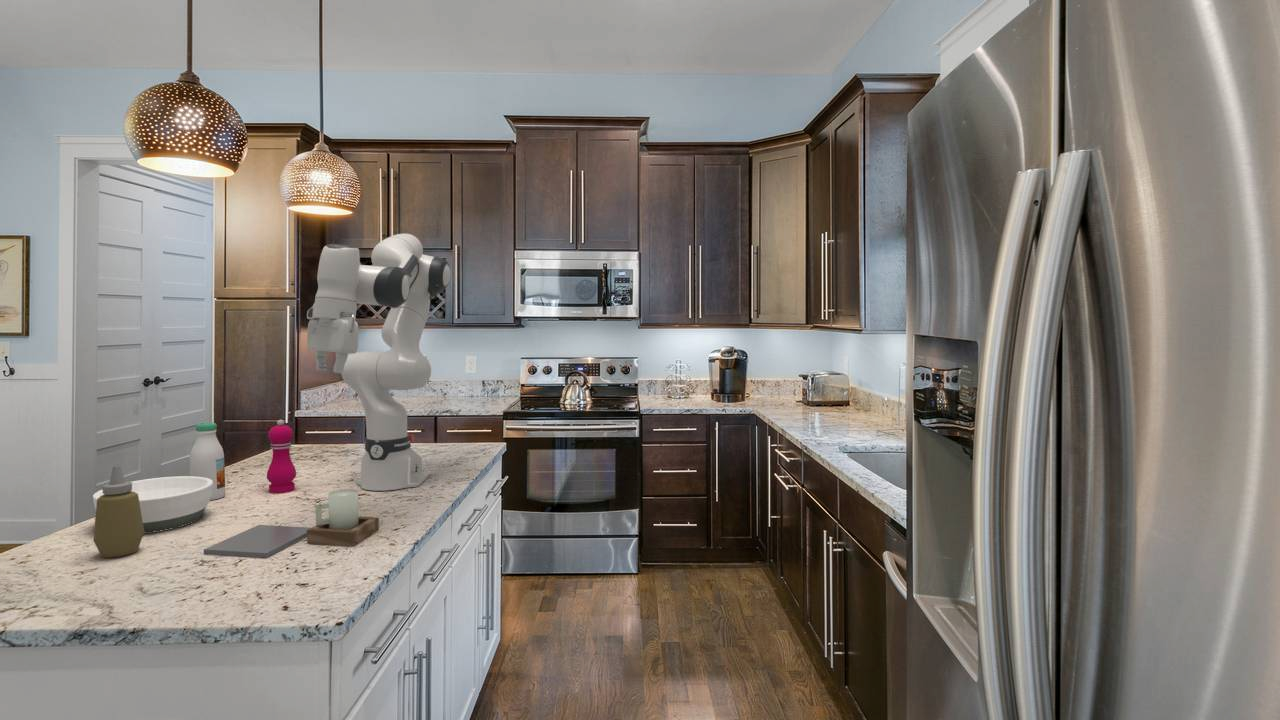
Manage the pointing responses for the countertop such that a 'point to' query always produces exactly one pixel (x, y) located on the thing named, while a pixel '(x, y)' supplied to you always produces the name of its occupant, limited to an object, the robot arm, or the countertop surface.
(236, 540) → the charcoal tile
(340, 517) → the pale green mug
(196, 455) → the milk bottle
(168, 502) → the bowl
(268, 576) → the countertop surface
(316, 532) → the walnut holder
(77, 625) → the countertop surface
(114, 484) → the squeeze bottle
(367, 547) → the countertop surface
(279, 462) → the pepper mill
